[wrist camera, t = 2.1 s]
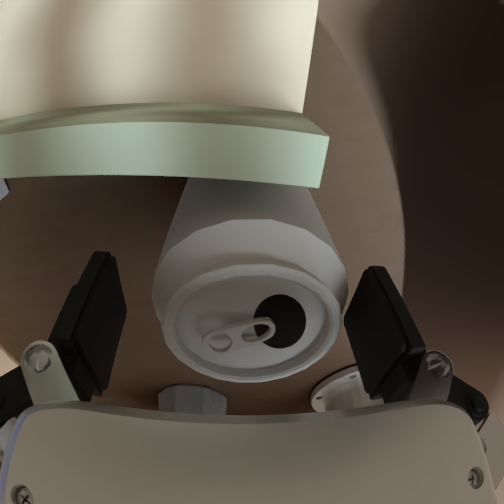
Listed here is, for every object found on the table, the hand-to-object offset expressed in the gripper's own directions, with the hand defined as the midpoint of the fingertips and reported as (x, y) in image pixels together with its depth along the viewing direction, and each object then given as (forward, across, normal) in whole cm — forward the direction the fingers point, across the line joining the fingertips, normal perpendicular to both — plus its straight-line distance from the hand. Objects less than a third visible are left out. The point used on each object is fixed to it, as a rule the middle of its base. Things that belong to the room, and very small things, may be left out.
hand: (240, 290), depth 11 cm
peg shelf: (+10, +7, -11) cm, 17 cm away
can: (+10, -1, +1) cm, 10 cm away
